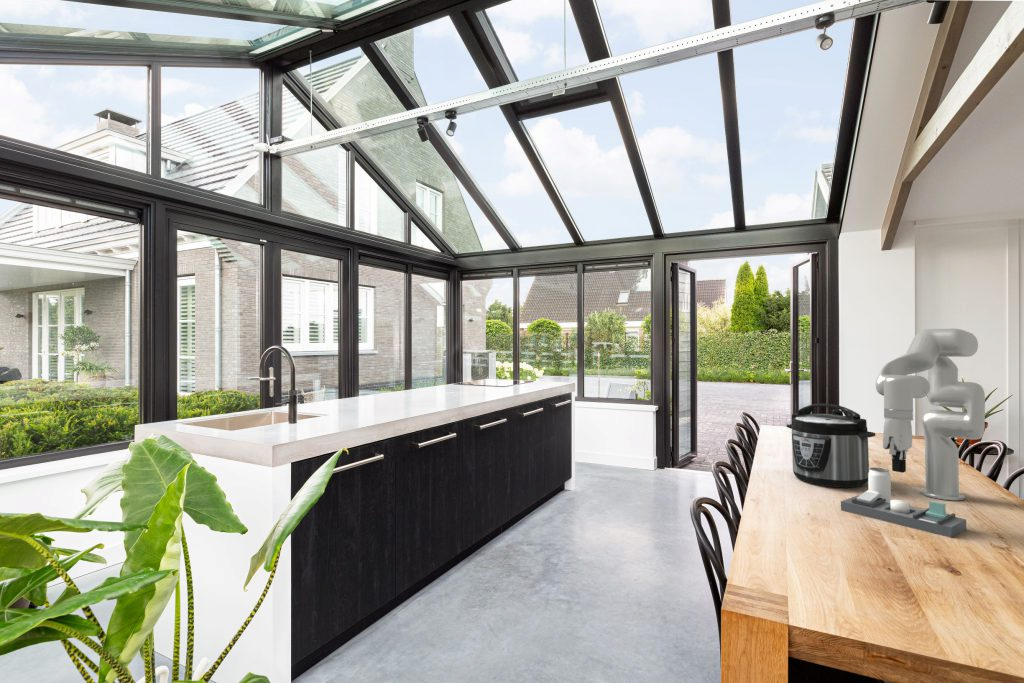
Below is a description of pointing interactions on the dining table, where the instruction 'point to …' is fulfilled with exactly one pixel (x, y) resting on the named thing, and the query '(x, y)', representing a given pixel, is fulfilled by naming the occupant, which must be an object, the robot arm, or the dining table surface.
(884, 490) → the can
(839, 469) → the pressure cooker
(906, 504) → the push button
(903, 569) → the dining table surface
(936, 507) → the teal slide switch
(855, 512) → the control panel
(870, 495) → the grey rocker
